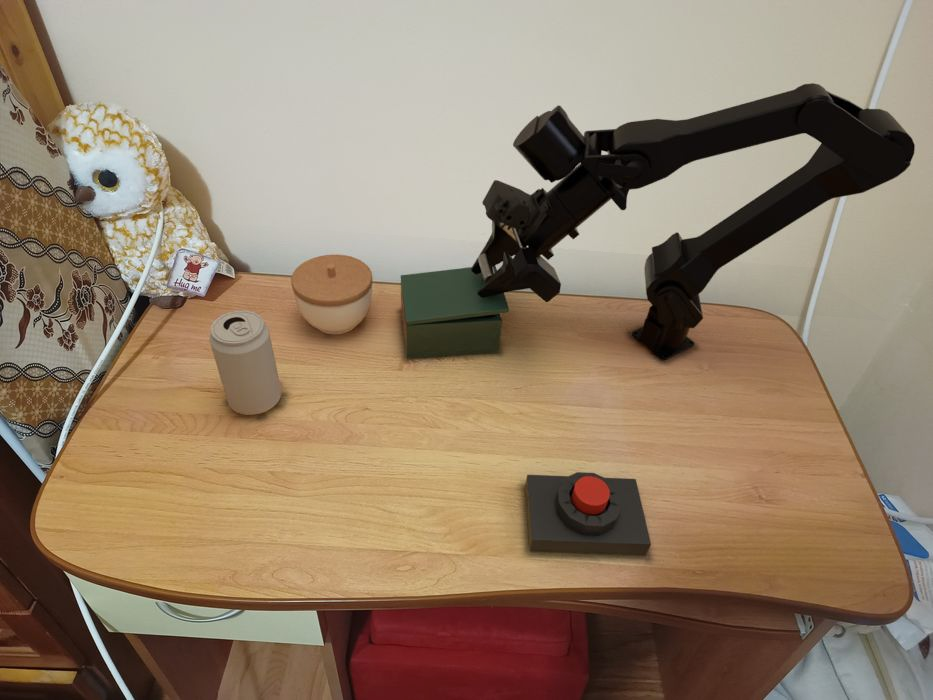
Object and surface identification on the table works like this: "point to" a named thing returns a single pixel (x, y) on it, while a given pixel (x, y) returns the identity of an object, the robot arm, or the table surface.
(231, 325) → the beverage can
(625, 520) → the panel
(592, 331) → the table surface
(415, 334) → the green box
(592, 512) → the button
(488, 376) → the table surface
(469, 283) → the lid
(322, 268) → the trinket box
